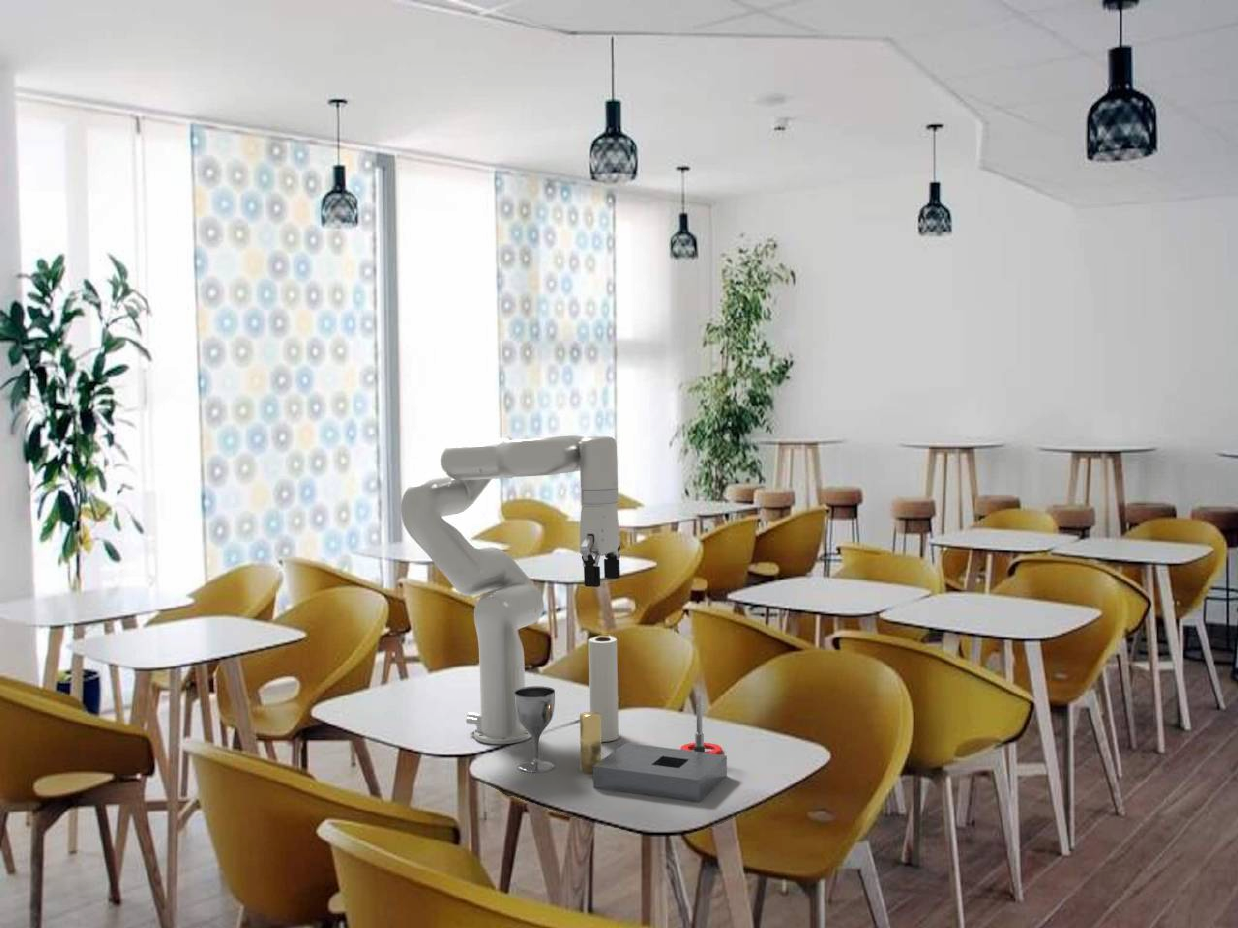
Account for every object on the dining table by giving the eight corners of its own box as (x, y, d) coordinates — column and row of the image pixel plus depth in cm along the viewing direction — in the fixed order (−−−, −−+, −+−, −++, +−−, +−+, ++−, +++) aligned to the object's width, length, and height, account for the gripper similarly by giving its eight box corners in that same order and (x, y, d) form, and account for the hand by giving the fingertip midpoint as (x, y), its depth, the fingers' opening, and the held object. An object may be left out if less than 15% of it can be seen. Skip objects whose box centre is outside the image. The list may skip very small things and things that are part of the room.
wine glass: (562, 761, 234) (561, 687, 233) (547, 774, 227) (545, 698, 226) (525, 758, 237) (524, 684, 236) (509, 771, 229) (507, 695, 228)
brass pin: (577, 772, 228) (576, 716, 227) (586, 765, 232) (585, 710, 231) (596, 774, 226) (595, 718, 226) (604, 768, 230) (603, 712, 229)
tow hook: (682, 747, 244) (678, 759, 235) (682, 685, 244) (678, 694, 235) (723, 748, 243) (720, 761, 234) (723, 686, 242) (720, 696, 233)
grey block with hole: (593, 787, 219) (592, 766, 219) (626, 762, 233) (625, 742, 233) (699, 802, 211) (699, 780, 211) (726, 775, 224) (726, 755, 224)
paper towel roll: (602, 744, 245) (600, 642, 244) (584, 737, 250) (582, 638, 248) (628, 737, 250) (627, 637, 248) (611, 731, 254) (609, 633, 253)
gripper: (600, 493, 246) (602, 575, 247) (564, 502, 230) (567, 588, 231) (633, 493, 243) (635, 576, 244) (599, 502, 227) (602, 590, 229)
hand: (602, 582), depth 238 cm, fingers open, 9 cm apart
